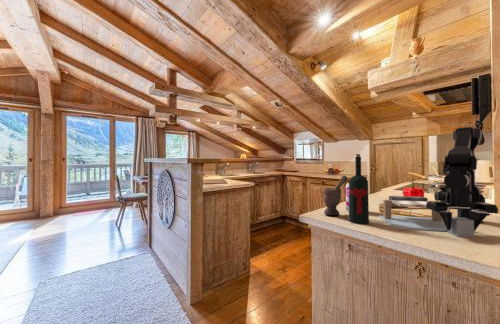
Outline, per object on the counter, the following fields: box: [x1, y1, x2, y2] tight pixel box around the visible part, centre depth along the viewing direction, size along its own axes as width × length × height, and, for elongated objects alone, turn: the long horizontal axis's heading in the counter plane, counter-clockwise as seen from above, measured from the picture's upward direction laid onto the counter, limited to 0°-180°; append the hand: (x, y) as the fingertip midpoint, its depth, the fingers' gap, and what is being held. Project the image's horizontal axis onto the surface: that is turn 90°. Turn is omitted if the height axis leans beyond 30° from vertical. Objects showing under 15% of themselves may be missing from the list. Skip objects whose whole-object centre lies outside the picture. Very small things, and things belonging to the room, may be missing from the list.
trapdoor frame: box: [378, 199, 448, 233], centre depth 94 cm, size 23×19×9 cm
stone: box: [447, 216, 475, 239], centre depth 79 cm, size 5×5×6 cm
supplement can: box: [345, 182, 349, 213], centre depth 118 cm, size 8×8×15 cm
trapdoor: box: [388, 195, 429, 208], centre depth 96 cm, size 16×14×4 cm
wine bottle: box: [348, 153, 370, 225], centre depth 96 cm, size 8×10×30 cm
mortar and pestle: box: [322, 175, 348, 216], centre depth 112 cm, size 12×9×20 cm
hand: (460, 230), depth 79 cm, fingers open, 7 cm apart
